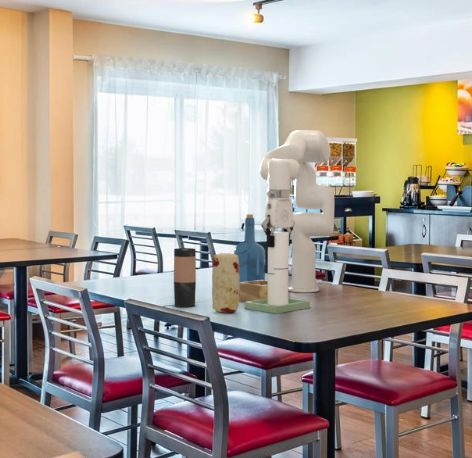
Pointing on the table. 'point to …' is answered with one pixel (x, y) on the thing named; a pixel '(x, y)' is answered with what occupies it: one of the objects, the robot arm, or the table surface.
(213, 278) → the food model
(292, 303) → the tray
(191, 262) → the travel mug
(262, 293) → the crate
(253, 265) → the wine bottle
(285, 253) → the cylindrical container
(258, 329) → the table surface
